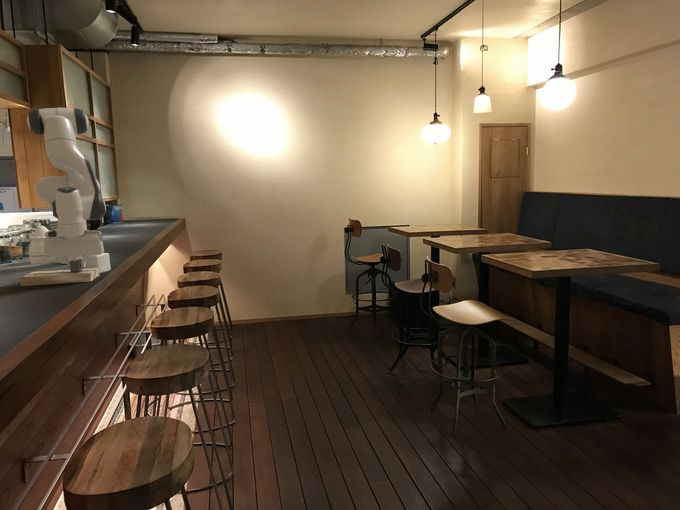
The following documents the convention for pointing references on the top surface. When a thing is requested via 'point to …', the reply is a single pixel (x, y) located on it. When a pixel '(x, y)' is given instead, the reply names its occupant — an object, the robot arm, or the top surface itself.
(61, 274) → the control strip
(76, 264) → the fader knob
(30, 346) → the top surface
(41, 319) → the top surface
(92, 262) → the medicine bottle
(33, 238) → the honey pot
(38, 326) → the top surface
